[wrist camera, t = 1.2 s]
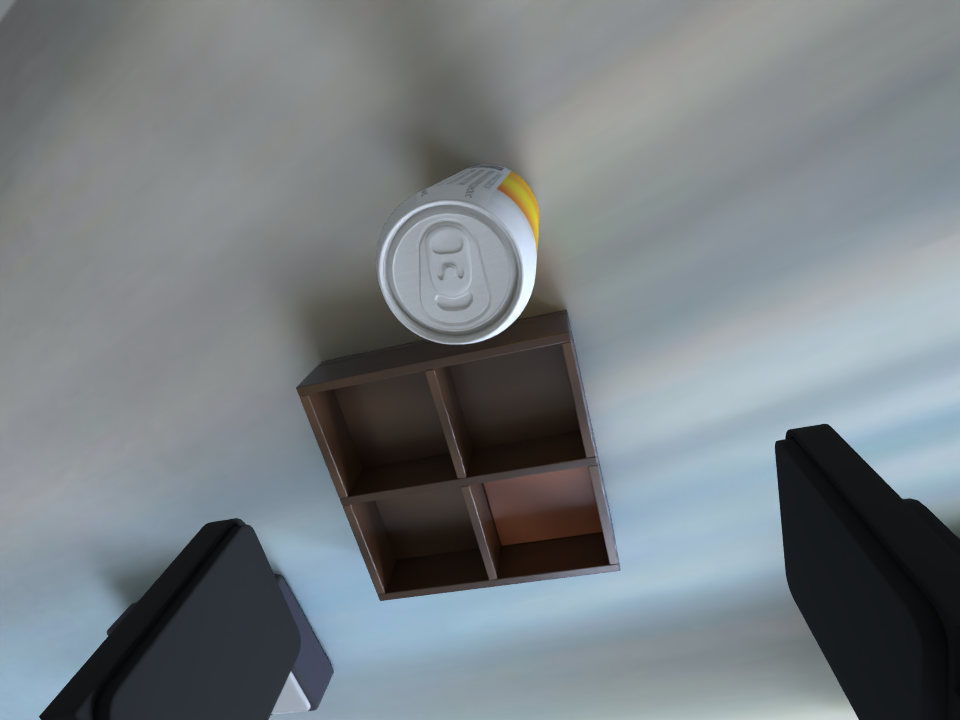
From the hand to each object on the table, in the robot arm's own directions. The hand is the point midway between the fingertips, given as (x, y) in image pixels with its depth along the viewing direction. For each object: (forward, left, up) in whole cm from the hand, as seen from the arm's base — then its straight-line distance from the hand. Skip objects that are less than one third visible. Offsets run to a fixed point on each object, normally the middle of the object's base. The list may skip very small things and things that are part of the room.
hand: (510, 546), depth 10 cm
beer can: (-3, -2, -27) cm, 27 cm away
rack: (+12, -7, -27) cm, 31 cm away
